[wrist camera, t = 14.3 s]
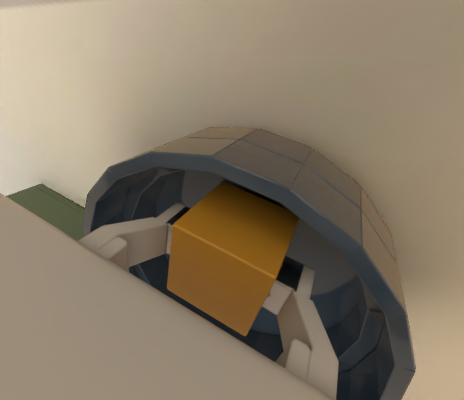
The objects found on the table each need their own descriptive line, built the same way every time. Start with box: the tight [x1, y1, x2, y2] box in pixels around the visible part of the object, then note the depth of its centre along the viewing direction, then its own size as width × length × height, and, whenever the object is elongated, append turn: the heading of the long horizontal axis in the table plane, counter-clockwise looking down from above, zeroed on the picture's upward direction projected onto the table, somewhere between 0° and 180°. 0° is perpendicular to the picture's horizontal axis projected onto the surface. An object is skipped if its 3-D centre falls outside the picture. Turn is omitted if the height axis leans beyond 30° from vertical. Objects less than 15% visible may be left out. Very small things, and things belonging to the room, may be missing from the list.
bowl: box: [82, 127, 416, 400], centre depth 14 cm, size 16×16×5 cm
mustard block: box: [167, 182, 300, 336], centre depth 11 cm, size 4×4×4 cm
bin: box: [6, 184, 85, 241], centre depth 22 cm, size 12×12×7 cm
